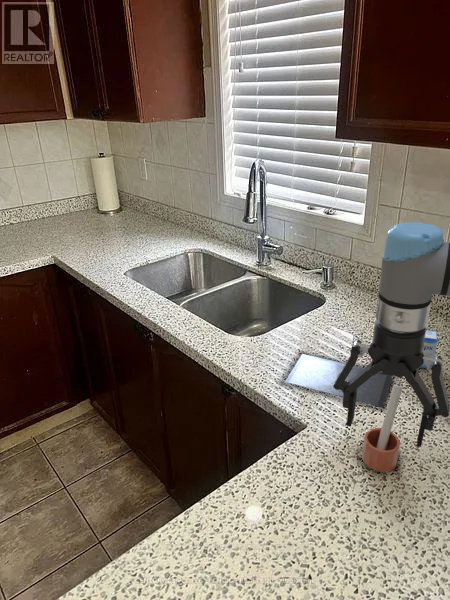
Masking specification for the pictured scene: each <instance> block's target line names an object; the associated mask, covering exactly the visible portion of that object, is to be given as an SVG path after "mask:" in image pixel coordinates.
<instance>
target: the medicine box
mask: <svg viewBox="0 0 450 600" xmlns="http://www.w3.org/2000/svg"><path fill="white" fill-rule="evenodd" d="M438 339H439V338H438V335H437V331H436V330H428V329H426V333H425V339H424V344H423V349H422V352H423V355H424V356H425V357H430V358H435V357H436V356H435V355H436V351H437V346H438V345H437V344H438V341H439V340H438ZM424 368H425V369H426V370H427V367H426V366H425V365H422V366H420V367H419V368H418V369H424Z"/></svg>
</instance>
